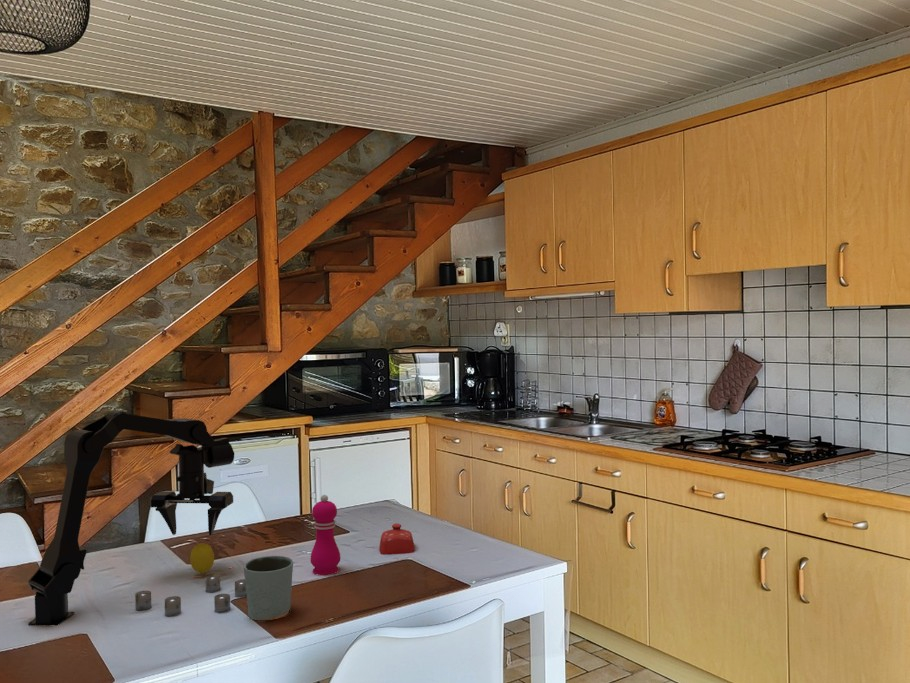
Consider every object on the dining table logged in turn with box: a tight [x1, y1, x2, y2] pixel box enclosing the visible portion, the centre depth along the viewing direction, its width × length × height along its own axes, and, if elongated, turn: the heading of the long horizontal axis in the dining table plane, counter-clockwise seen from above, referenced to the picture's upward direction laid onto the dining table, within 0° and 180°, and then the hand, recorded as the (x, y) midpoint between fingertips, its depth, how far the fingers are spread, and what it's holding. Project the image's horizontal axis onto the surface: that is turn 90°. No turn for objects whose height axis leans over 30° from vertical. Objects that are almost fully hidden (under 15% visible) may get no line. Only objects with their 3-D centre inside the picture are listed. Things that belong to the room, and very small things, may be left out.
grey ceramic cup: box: [243, 555, 294, 620], centre depth 159 cm, size 10×10×12 cm
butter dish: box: [378, 523, 416, 556], centre depth 202 cm, size 12×12×8 cm
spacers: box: [134, 573, 247, 617], centre depth 168 cm, size 17×22×4 cm
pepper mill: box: [310, 494, 341, 576], centre depth 185 cm, size 7×7×20 cm
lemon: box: [189, 542, 215, 575], centre depth 185 cm, size 6×6×8 cm
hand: (192, 534), depth 185 cm, fingers open, 9 cm apart
